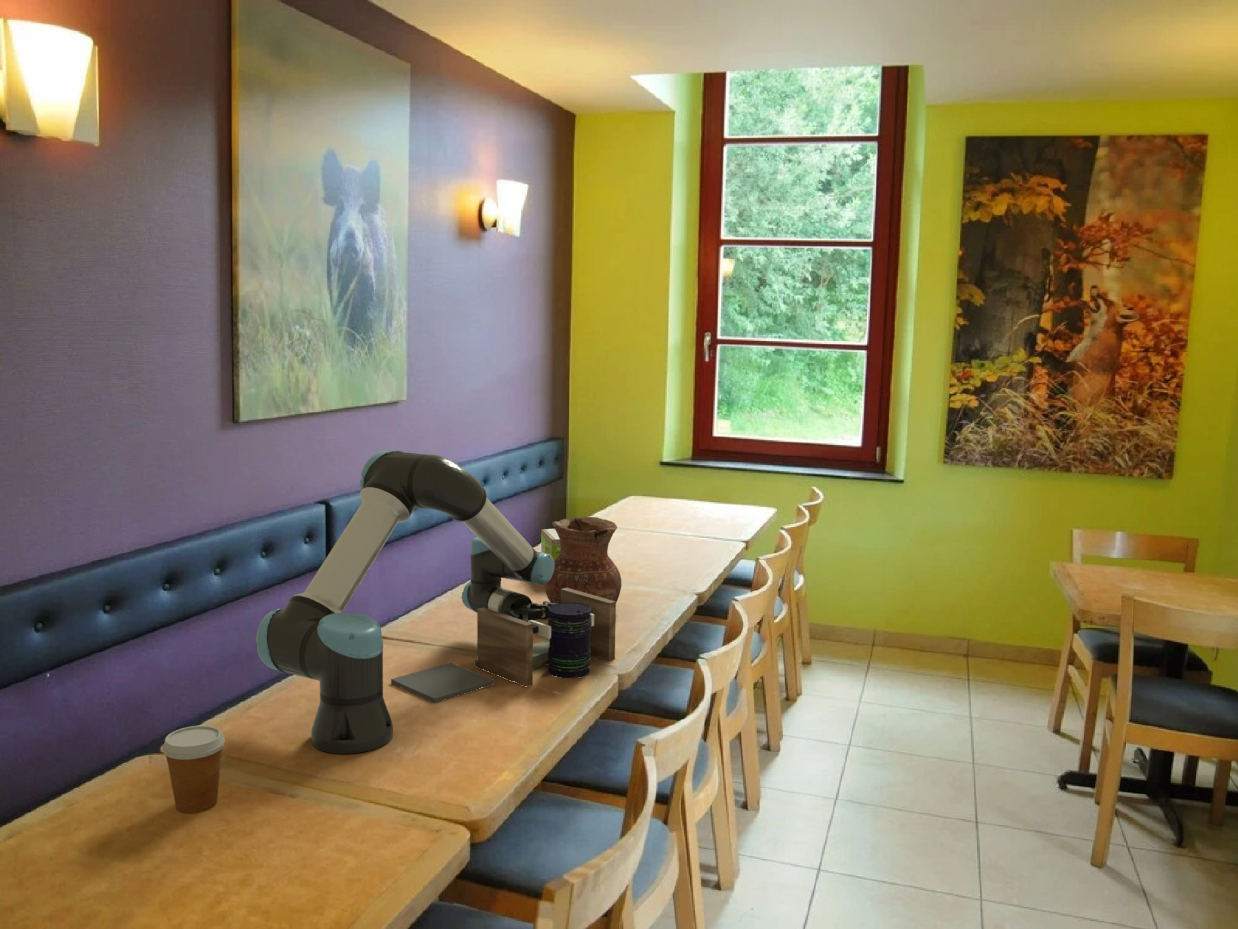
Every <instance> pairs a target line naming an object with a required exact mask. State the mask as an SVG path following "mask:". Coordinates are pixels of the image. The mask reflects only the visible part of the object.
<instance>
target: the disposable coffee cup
mask: <svg viewBox="0 0 1238 929" xmlns="http://www.w3.org/2000/svg"><path fill="white" fill-rule="evenodd" d="M225 742H226V737H225V736H224V734H223V732H222V730H221V729H220V728H218V727H216V726H213V725H212V726H211V725H193V726H191V725H190V726H186V727H183V728H179V729H177V730H174V731H172V732H170V733H169V734H168V735H166V737H165V738H164V743H163V744H162V746H161V747H162V751H163V753H164V755H165V757H166V762H167V768H168V772H169V773H168V774H169V777H170V778H169V779H170V781H171V782H170V783H171V788H172V793H173V798H174V804H175V809H176V811H177V812H179V813H182V814H199V813H202V812H207V811H208V810H210V809H213V808H214V807H215V806H216V805H217V803H218V795H219V783H220V776H221V775H220V774H221V772H220V771H221V762H222V753H223V747H224V745H225Z"/></svg>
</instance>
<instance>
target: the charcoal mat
mask: <svg viewBox="0 0 1238 929" xmlns="http://www.w3.org/2000/svg"><path fill="white" fill-rule="evenodd" d="M390 684H391V685H394V686H396V687H398V688H400V687H401V689H402V688H403V689H402V690H405V691H407V692H409V693H411V694H413V693H414V695H416V696H418V697H420V698H423V699H424V700H427V701H428V702H431V703H434V704H436V703H440V702H442V700H443V701H445V700H444V699H446V700H449V699H452V698H456V697H458V695H459V696H462V695H465V694H468V693H471V691H472V692H475V691H477V690H476V689H478V690H480V689H479V688H481V687H485V688H487V686H488V687H491V686H493V685H492V684H494V685H495V680H494V679H492V678H490V677H487V676H485V675H482V674H480V673H477V672H475V671H473V670H470V669H468V668H464V667H462V666H459V665H458V664H455V663H452V662H447V663H444V664H443V663H442V664H440V665H437V666H432V667H429V668H426V669H421V670H418V671H415V672H412V673H408V674H404V675H401V676H396V677H393V678H390ZM490 685H491V686H490ZM474 690H475V691H474ZM464 693H465V694H464ZM461 694H462V695H461ZM455 696H456V697H455Z"/></svg>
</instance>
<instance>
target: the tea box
mask: <svg viewBox="0 0 1238 929" xmlns="http://www.w3.org/2000/svg"><path fill="white" fill-rule="evenodd" d="M540 530H541V531H540V532H541V533H540V538H541V539H540V540H541V542H540V544H541V545H540V548H541V549H540V550H541V551H540V552H543V553H546V554H549V555H551V556H552V558H553V560H555V559H556V558H557V557H558V556H559V555H560V553H561V544H560V539H559V536H558V534H557V532H556V530H555V528H548V529H547V528H544V529H540Z"/></svg>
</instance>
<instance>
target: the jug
mask: <svg viewBox="0 0 1238 929" xmlns="http://www.w3.org/2000/svg"><path fill="white" fill-rule="evenodd" d="M552 527H553V529H555V530H556V532H557V534H558V536H559V539H560V544H561V553H560V555H559V556H558V557H557V558H556V559H555V560H554V572H553V575H552V578H551V579H550V581H549V582H547V583H545V584H543V585H544V590H545V591H544V592H545V594H546V597H547V599H548V602H551V603H561V589H563V588H570V589H573V590H577V591H580V592H584V593H587V594H591V595H594V596H598V597H601V598H605V599H608V600H612V601H615V602H616V603H617V602H618V600H619V597H620V594H621V590H622V577H621V573H620V571H619V568H618V567H617V565H616V564H615V562H614V561H613V560H612V559H611V557H609V554H608V553H609V552H608V550H609V544H610V542H611V539H612V537H613V535H614V533H615V532H616V531H617V529H618V525H617V524H616V523H615V522H613V521H611V520H608V519H605V518H599V517H597V516H575V517H572V518H563V519H560V520H559V521H555V520H554V521H552Z"/></svg>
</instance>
